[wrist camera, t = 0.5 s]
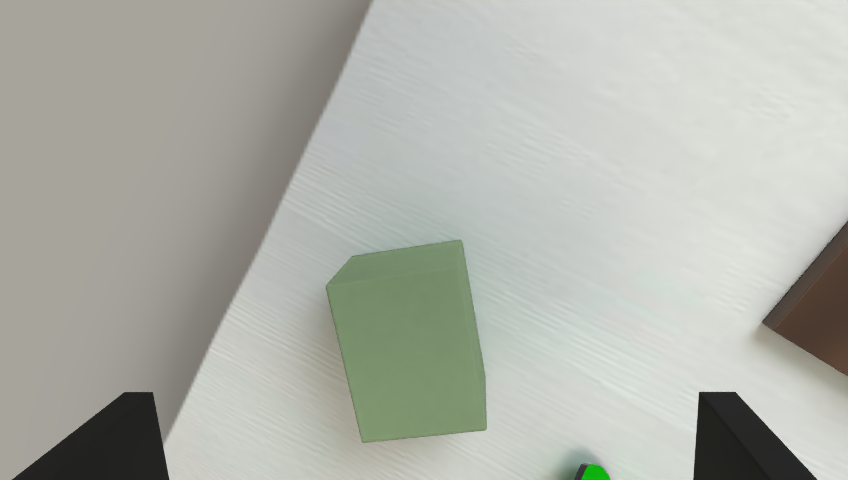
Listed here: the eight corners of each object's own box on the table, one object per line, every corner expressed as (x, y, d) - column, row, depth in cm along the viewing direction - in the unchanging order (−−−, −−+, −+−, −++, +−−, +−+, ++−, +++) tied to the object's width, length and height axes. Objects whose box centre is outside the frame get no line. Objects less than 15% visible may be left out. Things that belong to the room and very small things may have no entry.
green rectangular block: (351, 256, 28) (324, 285, 23) (461, 239, 27) (458, 266, 22) (380, 390, 30) (361, 443, 25) (485, 377, 29) (486, 430, 24)
